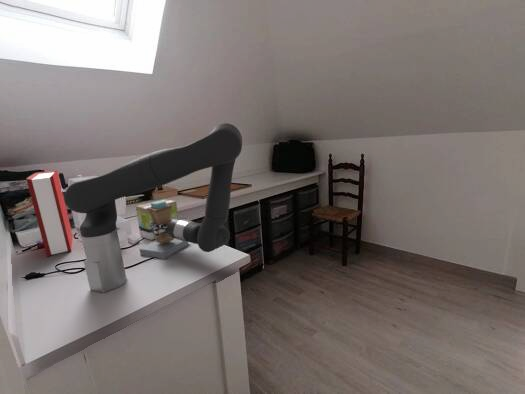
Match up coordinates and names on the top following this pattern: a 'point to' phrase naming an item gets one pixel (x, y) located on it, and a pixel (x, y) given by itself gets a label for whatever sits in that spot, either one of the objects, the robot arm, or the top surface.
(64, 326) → the top surface
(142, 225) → the tea box
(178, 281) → the top surface
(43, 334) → the top surface
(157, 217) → the wooden pedestal column
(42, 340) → the top surface
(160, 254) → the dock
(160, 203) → the teal block
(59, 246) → the book
